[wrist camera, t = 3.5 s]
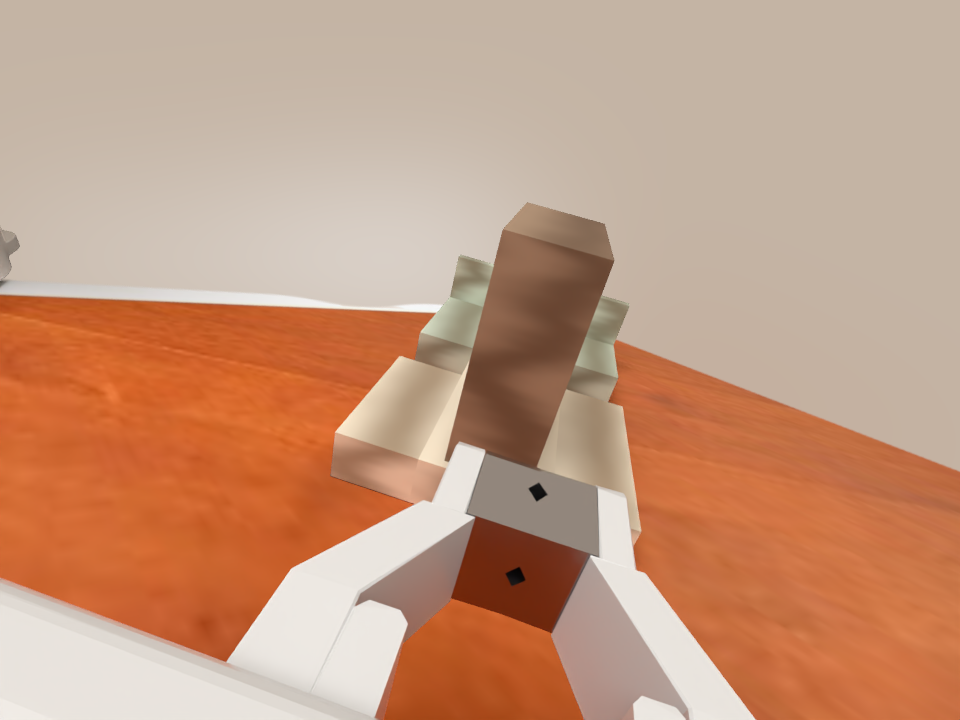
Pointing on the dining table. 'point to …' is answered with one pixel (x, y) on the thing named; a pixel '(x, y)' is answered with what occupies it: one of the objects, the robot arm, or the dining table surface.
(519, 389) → the walnut block
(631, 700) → the robot arm
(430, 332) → the cream block stand
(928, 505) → the dining table surface
